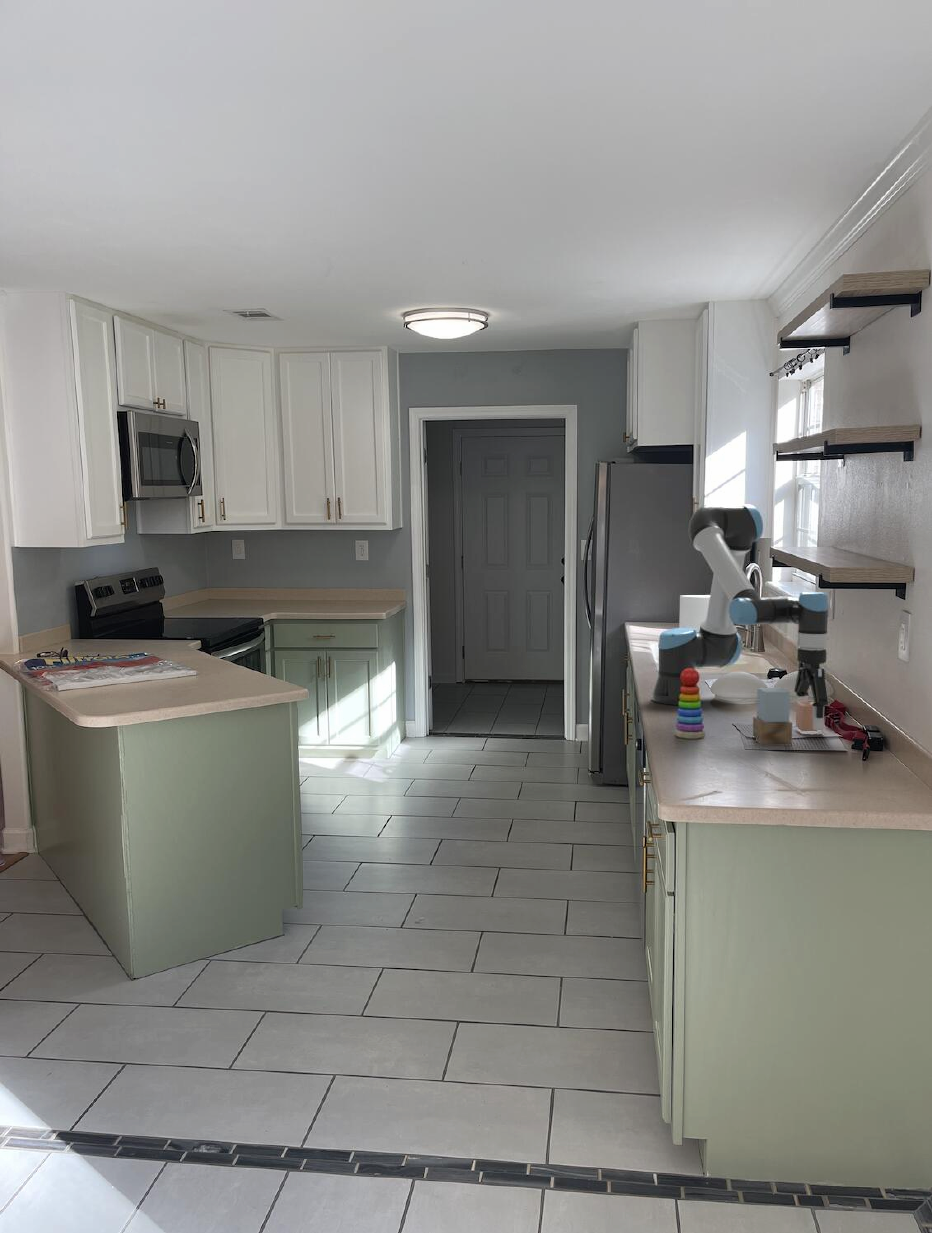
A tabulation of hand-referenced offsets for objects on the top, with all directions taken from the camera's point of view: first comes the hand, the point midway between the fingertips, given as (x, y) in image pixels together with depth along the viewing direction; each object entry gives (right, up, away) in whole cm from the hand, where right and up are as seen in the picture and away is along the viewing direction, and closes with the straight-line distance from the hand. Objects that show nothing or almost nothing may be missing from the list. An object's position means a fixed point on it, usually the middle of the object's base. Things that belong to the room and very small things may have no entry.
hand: (809, 724), depth 268 cm
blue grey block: (-13, +2, -10) cm, 17 cm away
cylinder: (-2, +10, +120) cm, 120 cm away
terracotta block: (0, -2, 0) cm, 2 cm away
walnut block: (-13, -4, -9) cm, 17 cm away
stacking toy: (-34, -3, -4) cm, 35 cm away
